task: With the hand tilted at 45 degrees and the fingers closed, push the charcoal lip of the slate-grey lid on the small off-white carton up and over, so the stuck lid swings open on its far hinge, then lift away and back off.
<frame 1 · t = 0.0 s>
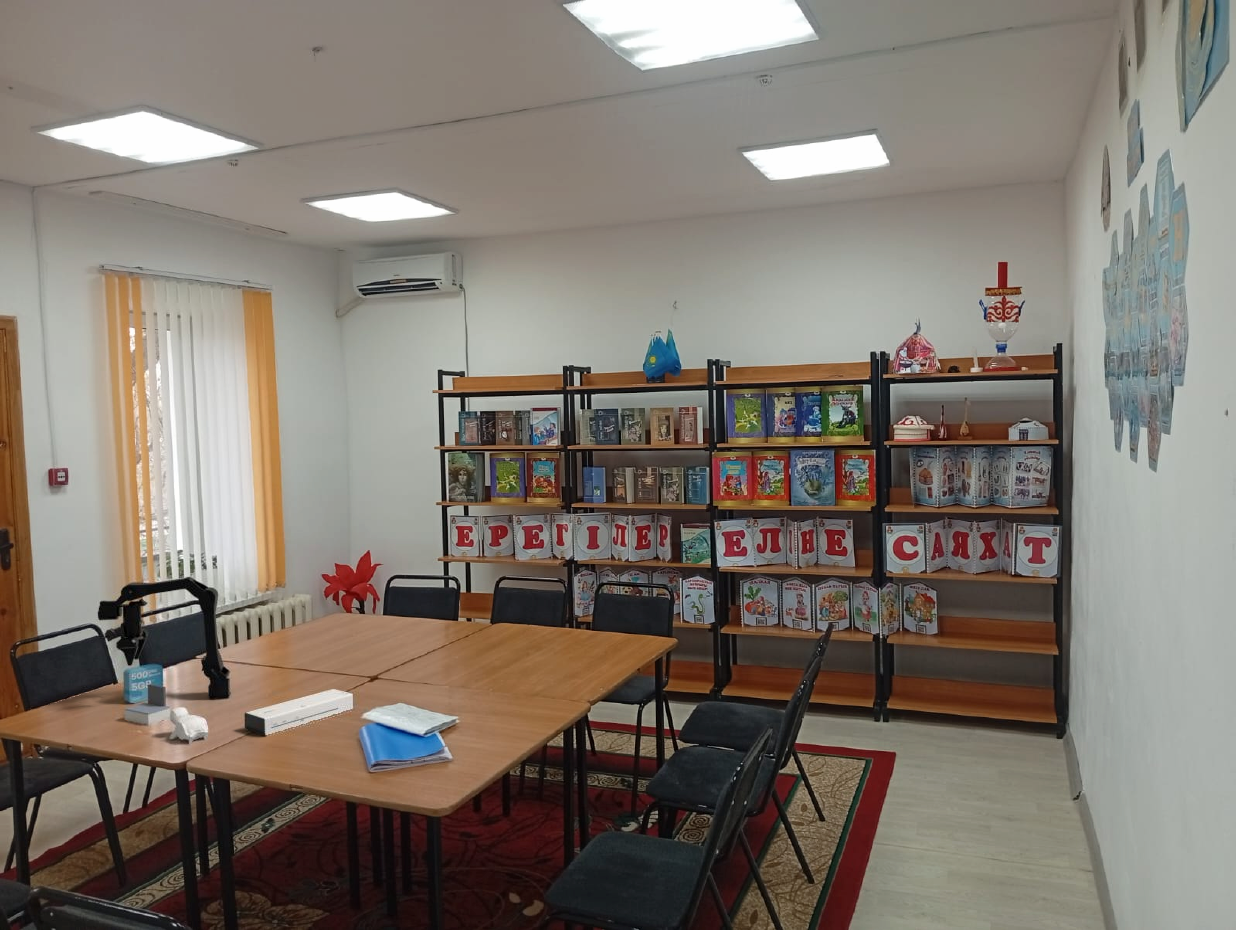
hand: (133, 662, 323), 15 cm above the table, tool pointing down, fingers open, 9 cm apart
carton lid: (136, 712, 301), point 4 cm above the table, hinge at 0.0°
data package: (144, 700, 328), on the table
white animal figurine: (187, 738, 287), on the table
carton: (147, 719, 305), on the table
laminator: (300, 721, 304), on the table
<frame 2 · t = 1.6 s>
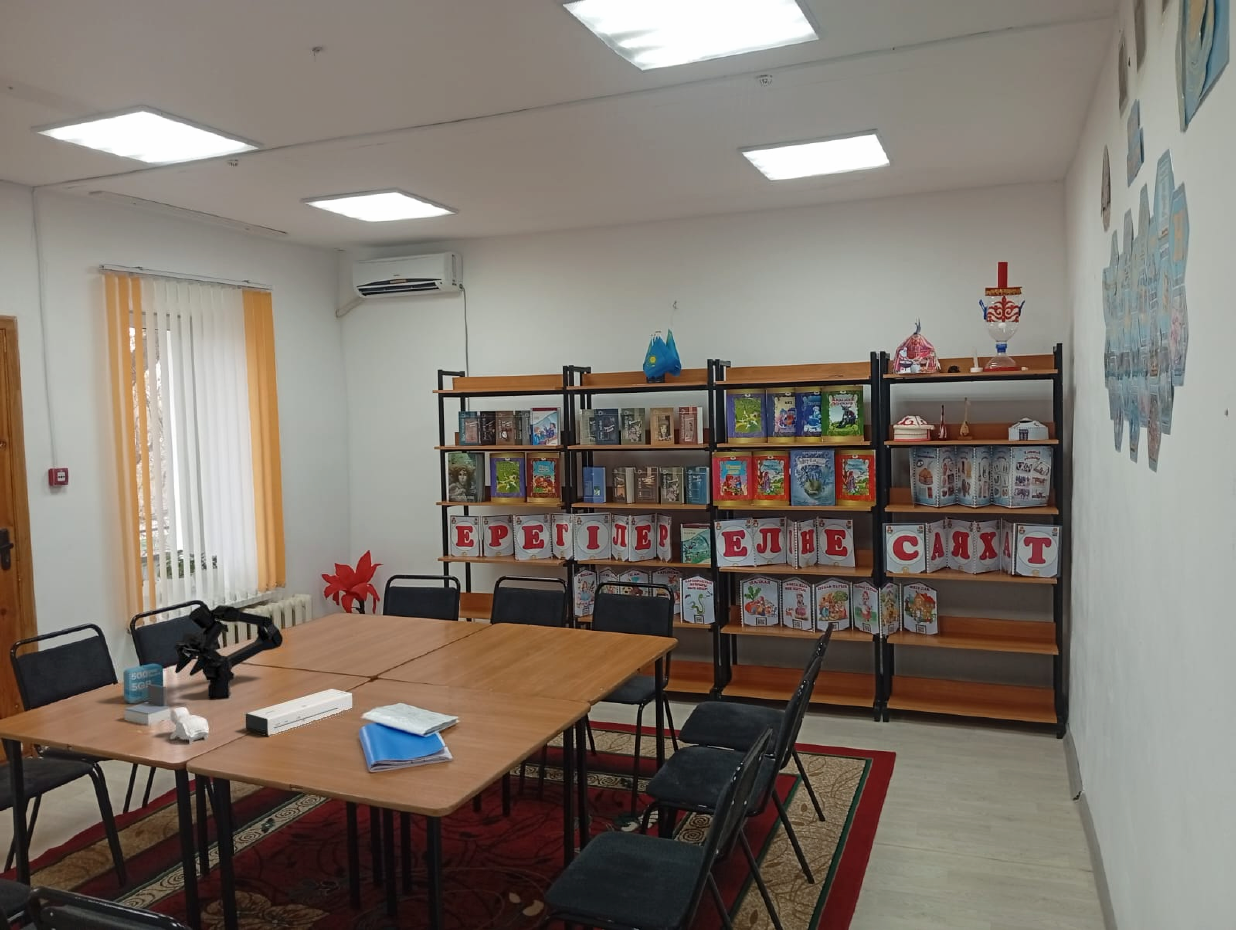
hand: (183, 673, 317), 12 cm above the table, tool tilted 45°, fingers open, 7 cm apart
carton lid: (136, 712, 301), point 4 cm above the table, hinge at 0.0°, touching carton
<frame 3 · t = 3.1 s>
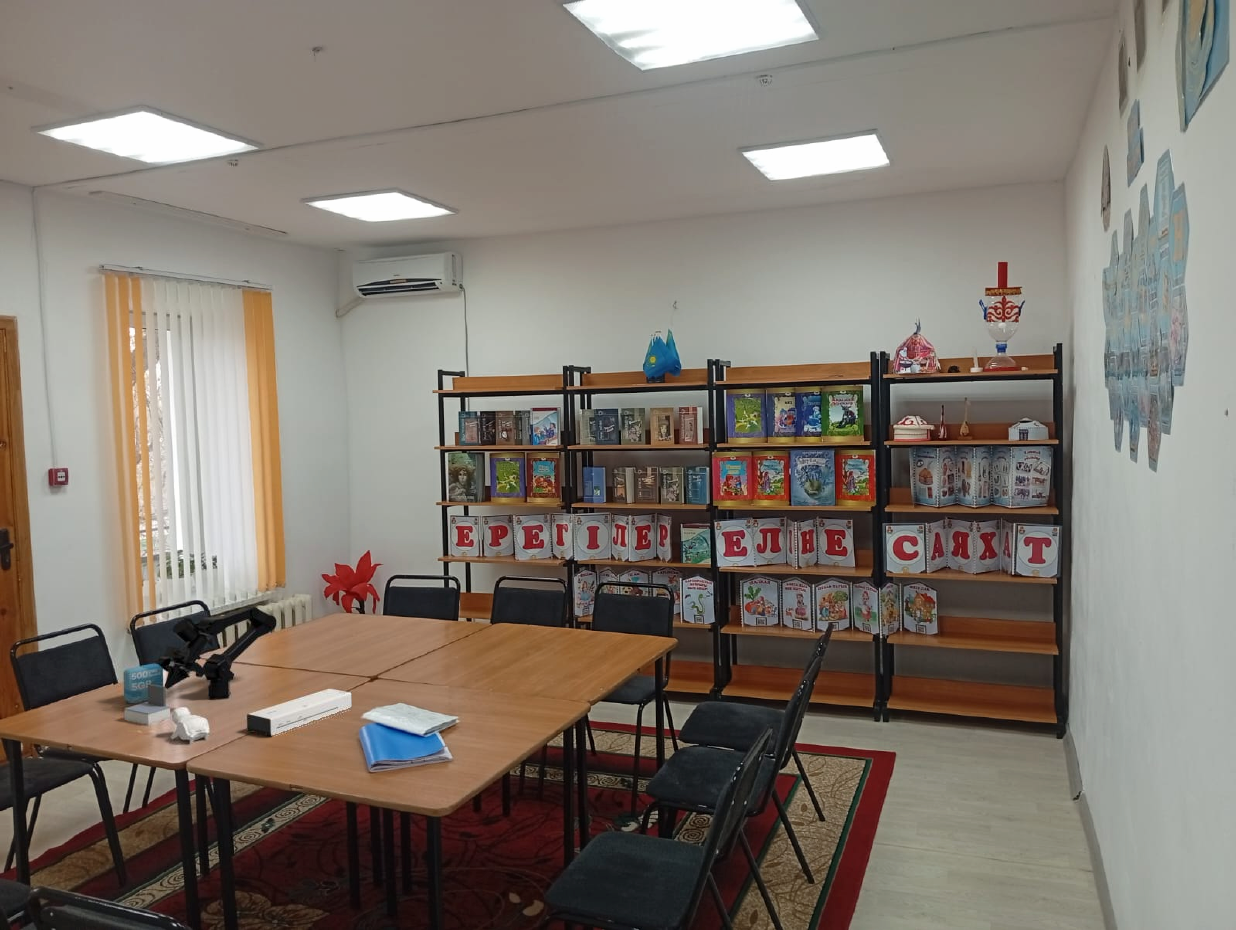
hand: (165, 688, 311), 9 cm above the table, tool tilted 45°, fingers closed
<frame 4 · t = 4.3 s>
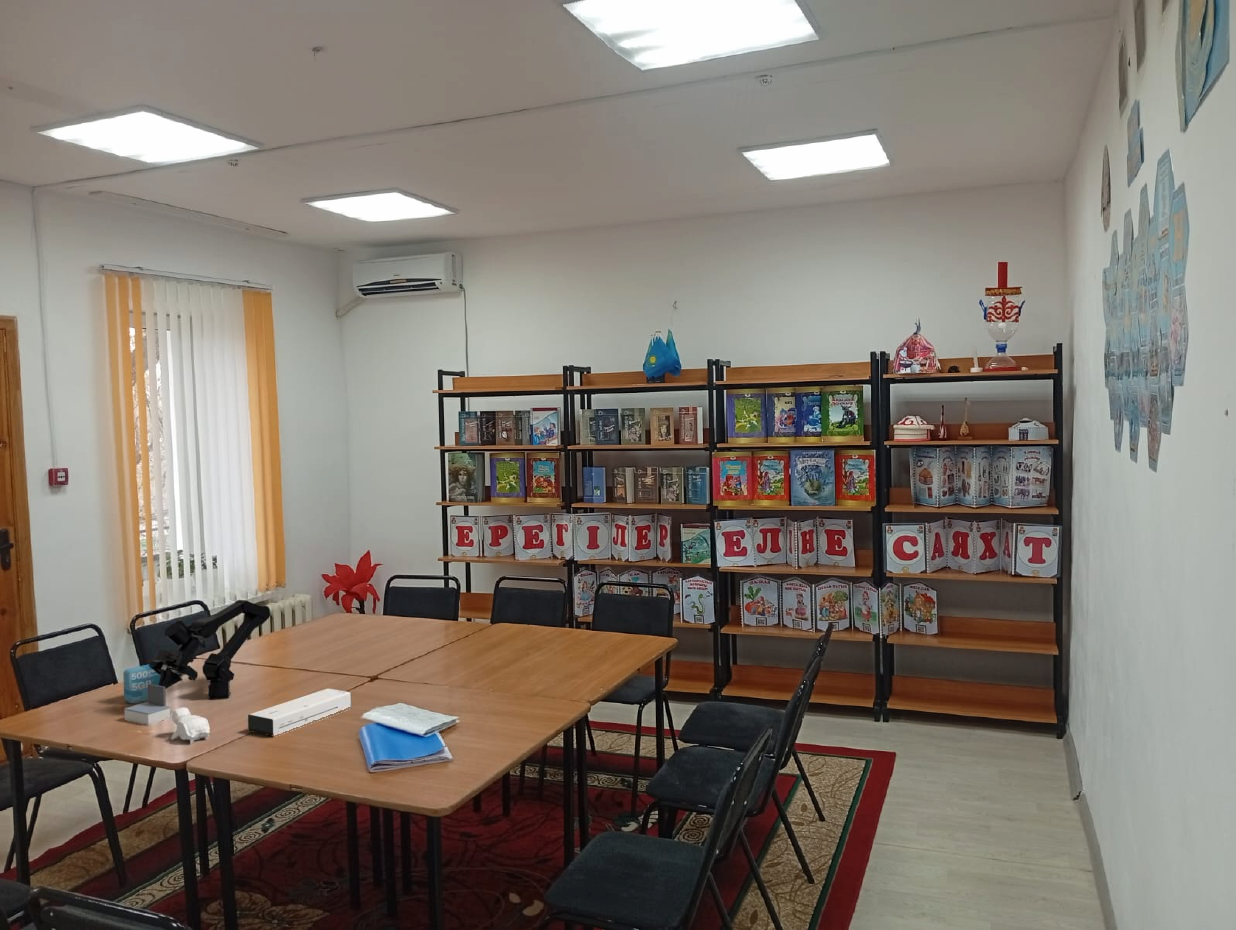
hand: (158, 692, 309), 8 cm above the table, tool tilted 45°, fingers closed, pressing on carton lid
carton lid: (136, 712, 301), point 4 cm above the table, hinge at 0.5°, touching gripper
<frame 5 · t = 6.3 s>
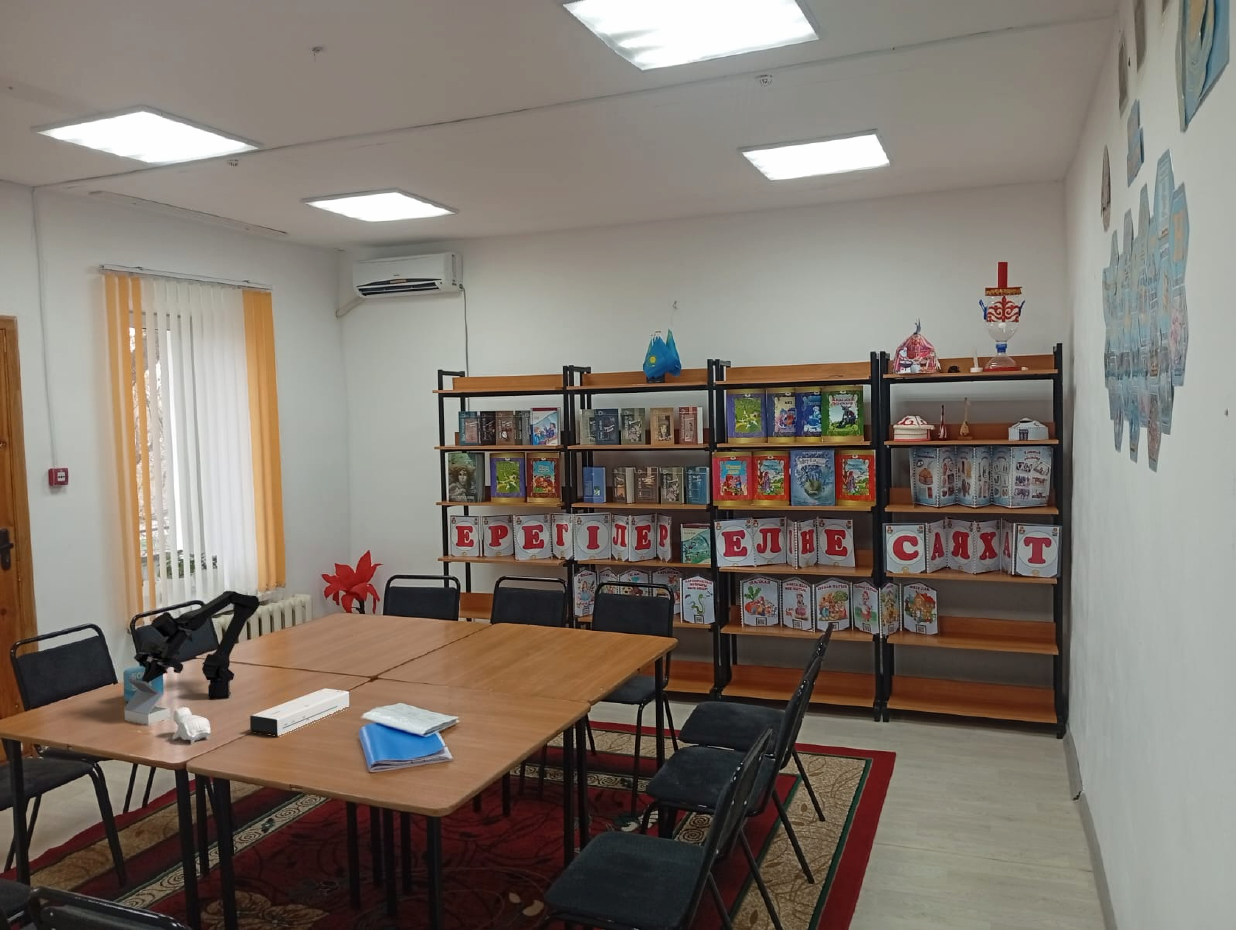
hand: (142, 684, 303), 12 cm above the table, tool tilted 45°, fingers closed, pressing on carton lid
carton lid: (136, 712, 301), point 4 cm above the table, hinge at 44.6°, touching gripper
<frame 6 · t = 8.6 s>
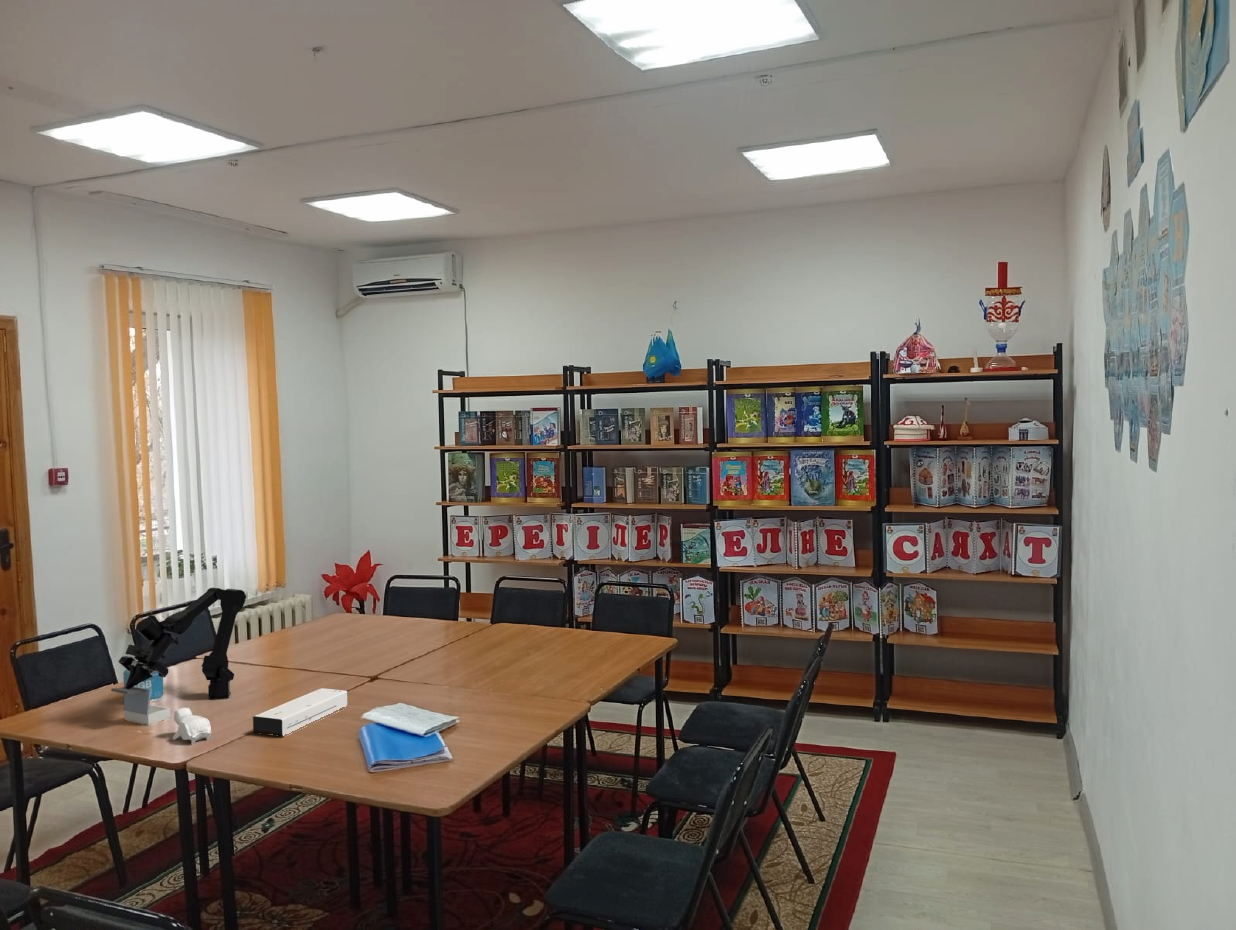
hand: (126, 688, 298), 12 cm above the table, tool tilted 45°, fingers closed, pressing on carton lid
carton lid: (136, 712, 301), point 4 cm above the table, hinge at 81.4°, touching gripper
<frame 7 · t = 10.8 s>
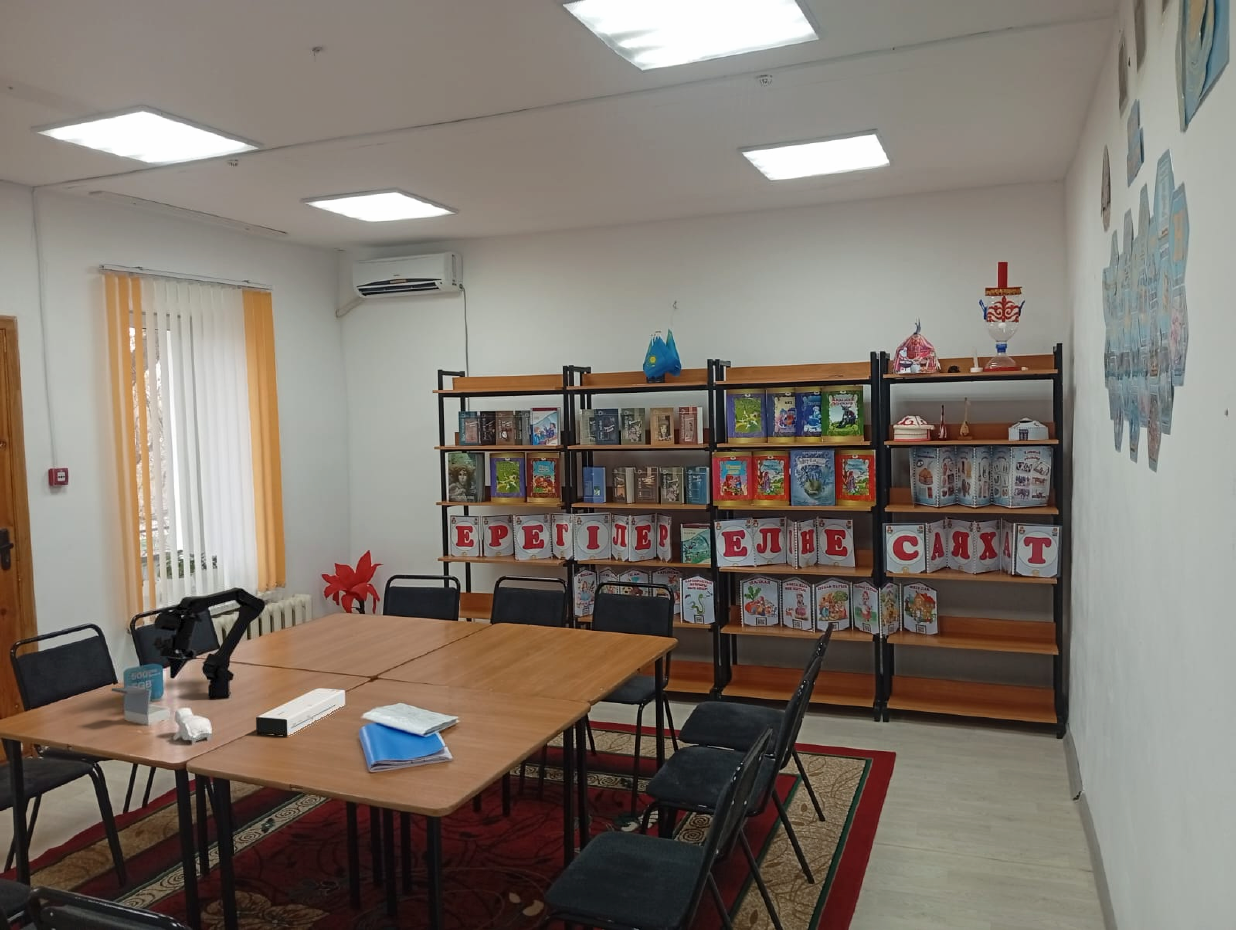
hand: (172, 678, 315), 11 cm above the table, tool tilted 20°, fingers closed
carton lid: (136, 712, 301), point 4 cm above the table, hinge at 81.2°
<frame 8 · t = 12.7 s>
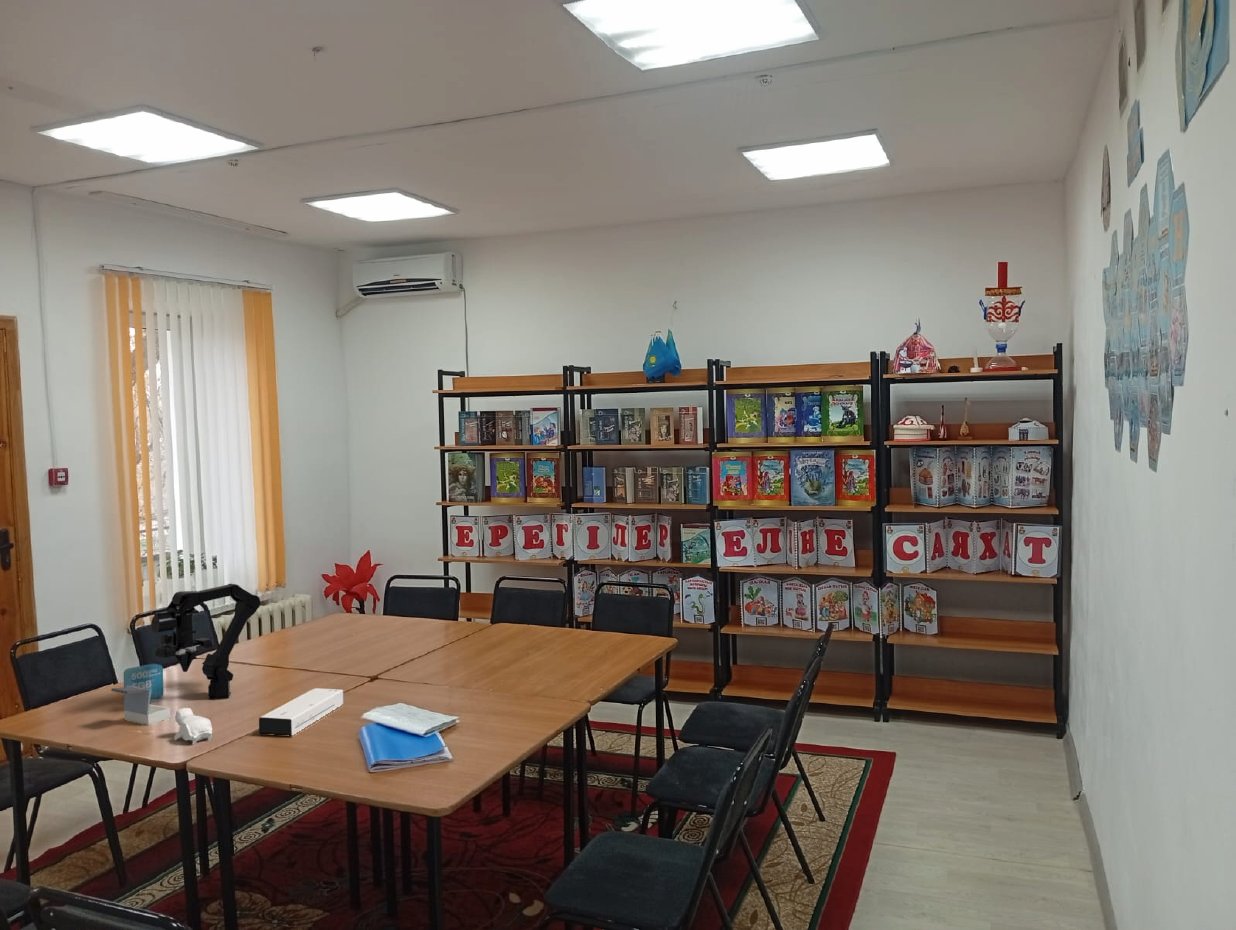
hand: (185, 671, 320), 12 cm above the table, tool pointing down, fingers closed
at the end: carton lid at +81° (first picture: +0°); the gripper is holding nothing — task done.
